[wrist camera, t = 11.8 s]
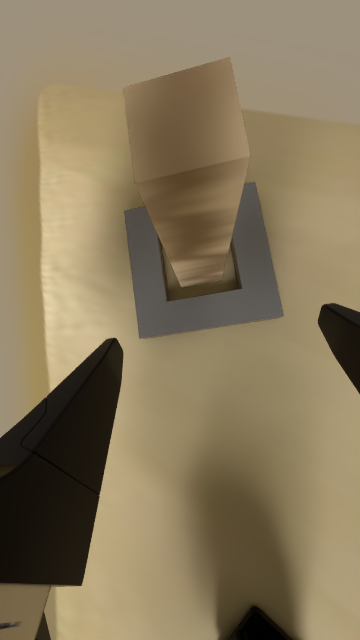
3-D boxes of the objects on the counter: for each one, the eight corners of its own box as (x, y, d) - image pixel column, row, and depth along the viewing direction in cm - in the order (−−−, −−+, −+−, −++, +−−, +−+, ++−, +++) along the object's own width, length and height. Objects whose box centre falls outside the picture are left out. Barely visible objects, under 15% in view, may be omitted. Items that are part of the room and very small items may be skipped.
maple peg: (214, 243, 21) (230, 56, 7) (221, 280, 21) (250, 155, 7) (176, 250, 22) (122, 87, 8) (181, 287, 21) (134, 183, 7)
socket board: (251, 192, 21) (255, 181, 20) (278, 318, 20) (283, 315, 18) (129, 219, 23) (124, 210, 21) (144, 338, 21) (139, 338, 20)
